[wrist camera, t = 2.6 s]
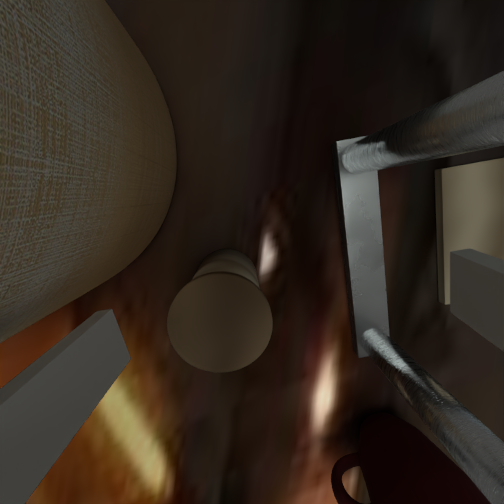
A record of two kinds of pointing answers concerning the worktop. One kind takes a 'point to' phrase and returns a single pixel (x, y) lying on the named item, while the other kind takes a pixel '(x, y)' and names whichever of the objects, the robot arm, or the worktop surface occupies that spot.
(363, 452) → the mug
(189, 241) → the worktop surface
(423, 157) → the grey piece
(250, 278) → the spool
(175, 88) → the worktop surface
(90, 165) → the planter
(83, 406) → the robot arm
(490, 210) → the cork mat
